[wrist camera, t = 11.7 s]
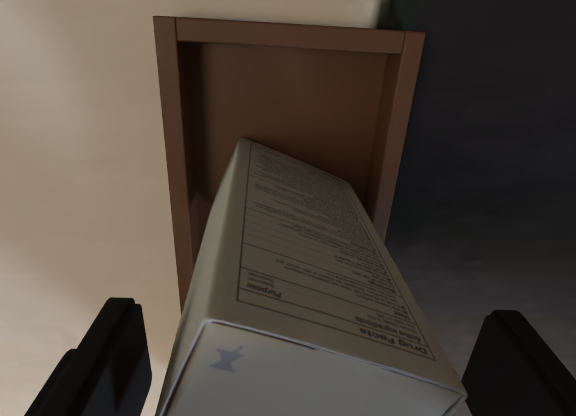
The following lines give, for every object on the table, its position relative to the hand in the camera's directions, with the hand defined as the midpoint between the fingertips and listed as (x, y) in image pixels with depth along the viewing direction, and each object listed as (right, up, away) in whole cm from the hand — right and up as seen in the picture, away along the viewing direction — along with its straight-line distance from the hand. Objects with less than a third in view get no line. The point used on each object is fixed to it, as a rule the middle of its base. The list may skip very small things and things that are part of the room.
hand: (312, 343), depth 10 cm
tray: (-1, +4, +9) cm, 10 cm away
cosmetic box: (-1, +4, +9) cm, 10 cm away
